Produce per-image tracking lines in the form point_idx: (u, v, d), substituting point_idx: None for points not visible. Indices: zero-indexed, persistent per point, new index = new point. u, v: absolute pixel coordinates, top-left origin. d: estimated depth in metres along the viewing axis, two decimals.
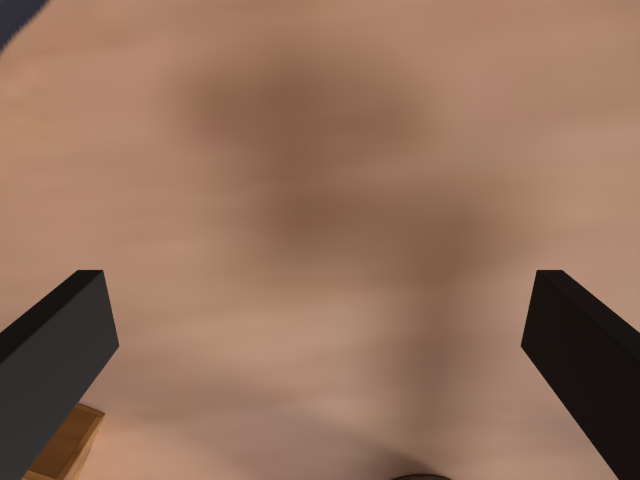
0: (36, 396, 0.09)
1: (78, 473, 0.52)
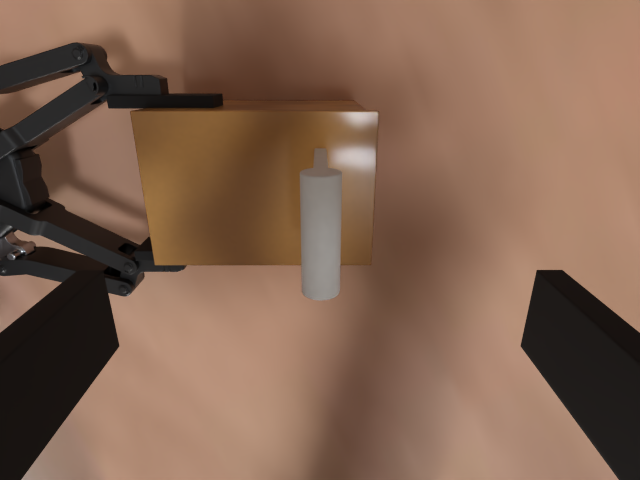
0: (36, 396, 0.09)
1: None
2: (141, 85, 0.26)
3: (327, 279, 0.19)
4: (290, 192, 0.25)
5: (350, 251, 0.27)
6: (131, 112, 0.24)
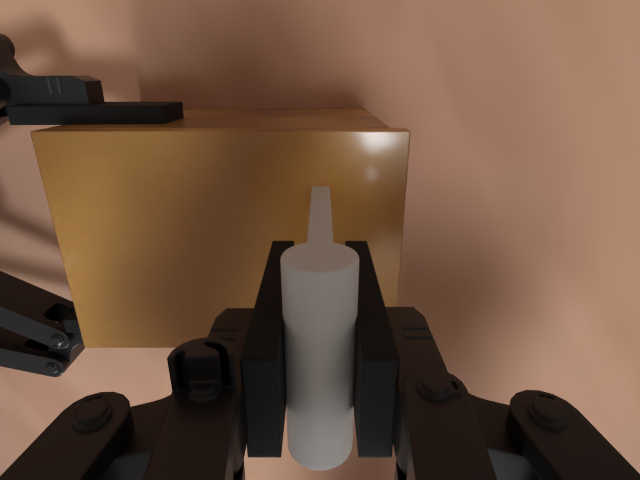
0: None
1: None
2: (59, 91, 0.18)
3: (331, 438, 0.11)
4: None
5: None
6: (32, 133, 0.16)
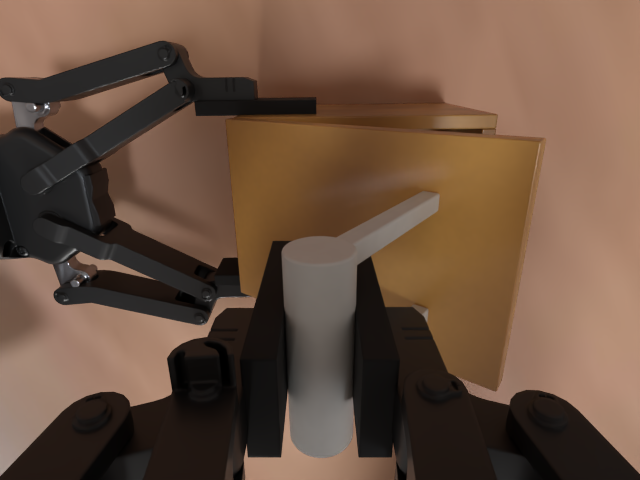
0: None
1: None
2: (232, 89, 0.23)
3: (312, 427, 0.11)
4: (383, 248, 0.17)
5: (463, 358, 0.17)
6: (226, 120, 0.21)
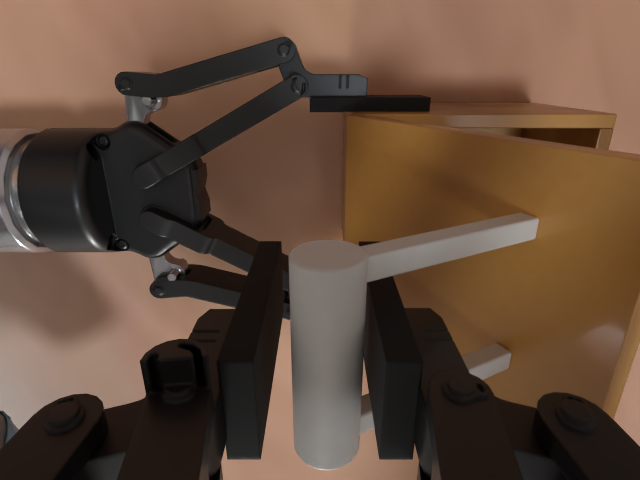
0: (271, 338, 0.12)
1: None
2: (346, 86, 0.23)
3: (304, 432, 0.11)
4: (472, 270, 0.15)
5: None
6: (348, 116, 0.21)
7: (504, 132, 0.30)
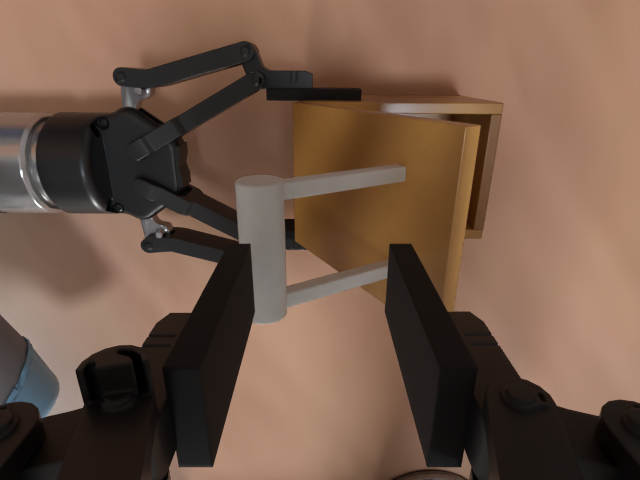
0: (233, 342, 0.11)
1: None
2: (295, 80, 0.29)
3: None
4: (374, 210, 0.22)
5: None
6: (293, 103, 0.27)
7: None
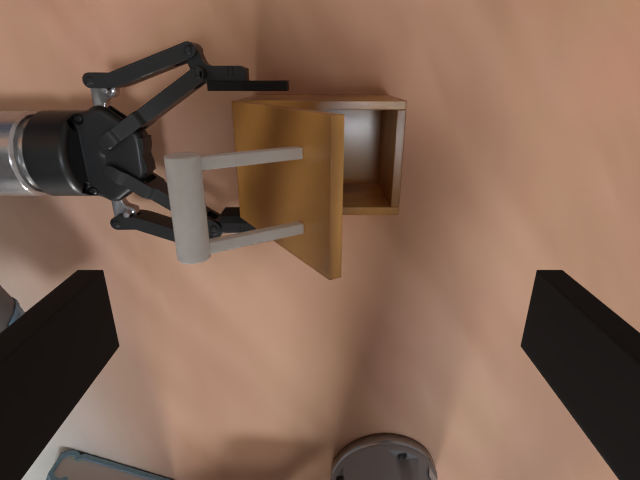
0: (36, 396, 0.09)
1: None
2: (232, 73, 0.35)
3: (178, 245, 0.23)
4: (287, 183, 0.27)
5: (317, 257, 0.26)
6: (232, 101, 0.33)
7: (369, 116, 0.42)
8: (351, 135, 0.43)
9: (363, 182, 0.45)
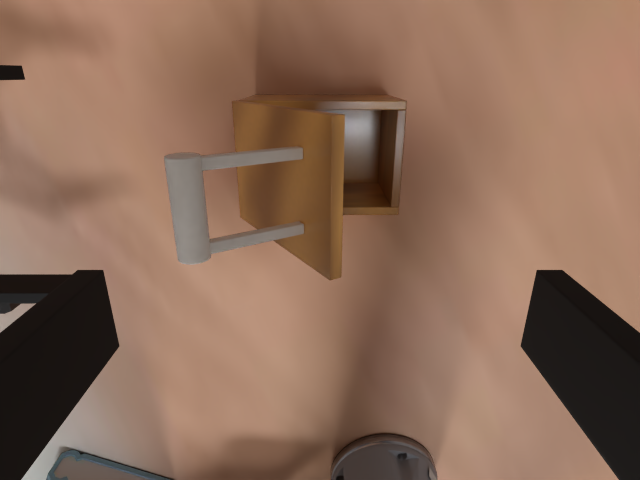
0: (36, 396, 0.09)
1: None
2: None
3: (179, 245, 0.23)
4: (287, 183, 0.27)
5: (317, 257, 0.26)
6: (232, 101, 0.33)
7: (369, 116, 0.42)
8: (351, 135, 0.43)
9: (363, 182, 0.45)
